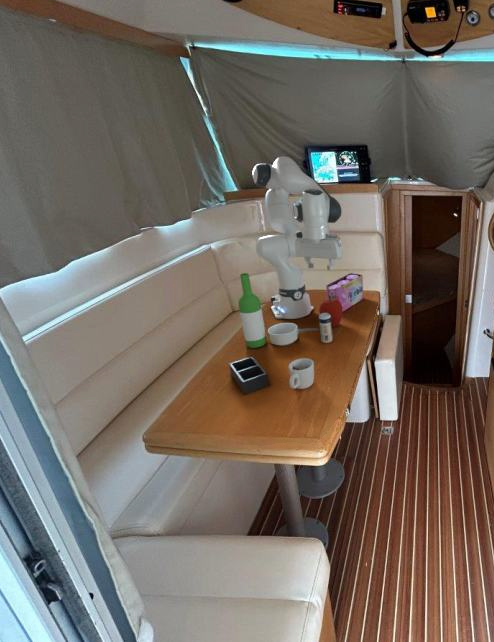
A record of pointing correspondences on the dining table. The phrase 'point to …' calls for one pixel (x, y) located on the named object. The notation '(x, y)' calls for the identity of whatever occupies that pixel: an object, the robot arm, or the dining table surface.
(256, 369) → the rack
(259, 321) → the bottle
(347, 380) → the dining table surface
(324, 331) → the beer can
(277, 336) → the saucepan
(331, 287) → the gum box
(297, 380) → the cup
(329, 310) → the apple
